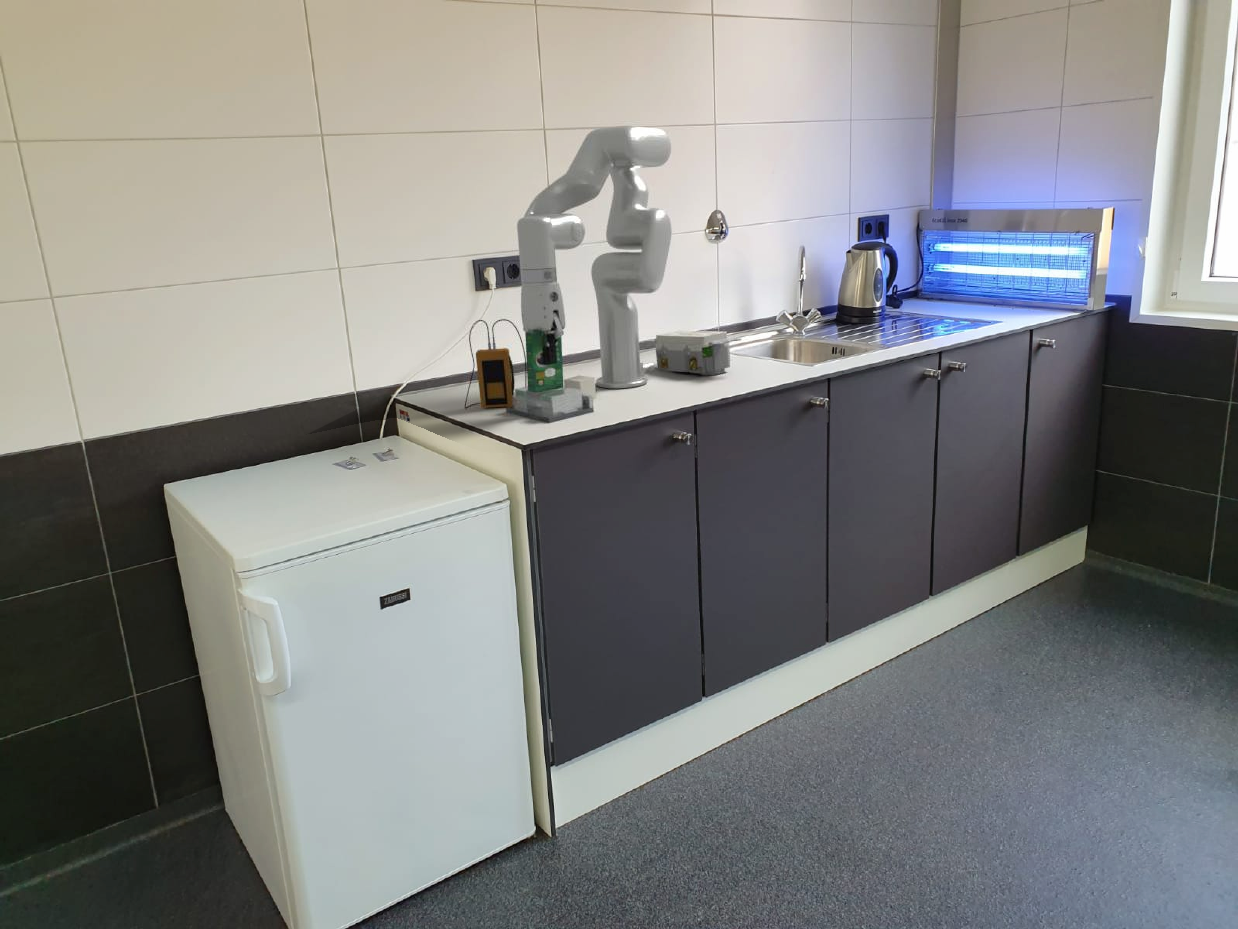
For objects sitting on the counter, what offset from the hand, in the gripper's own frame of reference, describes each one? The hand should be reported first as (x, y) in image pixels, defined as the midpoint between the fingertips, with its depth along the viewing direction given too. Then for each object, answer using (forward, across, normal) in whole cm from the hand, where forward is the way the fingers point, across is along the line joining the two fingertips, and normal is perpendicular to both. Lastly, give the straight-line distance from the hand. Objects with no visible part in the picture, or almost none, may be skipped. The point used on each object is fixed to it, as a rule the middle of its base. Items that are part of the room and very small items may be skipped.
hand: (545, 362), depth 199 cm
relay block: (+11, +4, -12) cm, 17 cm away
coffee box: (+6, 0, 0) cm, 6 cm away
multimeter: (+11, +17, +2) cm, 21 cm away
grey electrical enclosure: (+11, +6, -51) cm, 52 cm away
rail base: (+11, 0, 0) cm, 11 cm away
